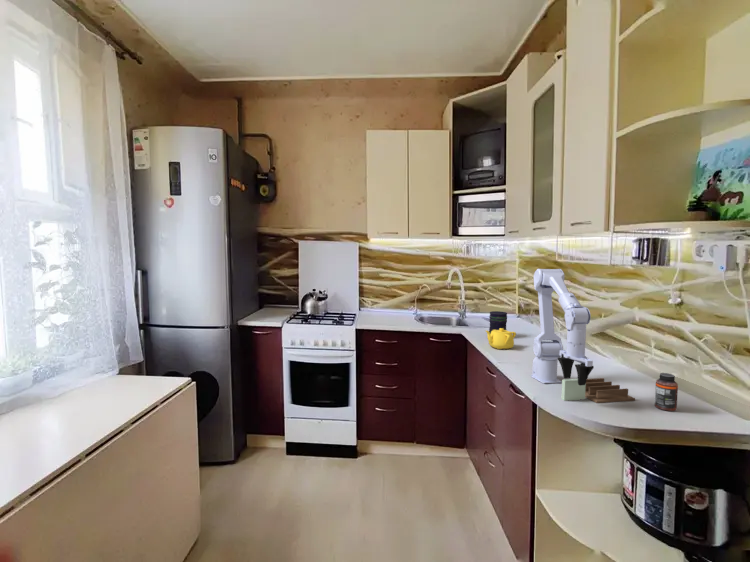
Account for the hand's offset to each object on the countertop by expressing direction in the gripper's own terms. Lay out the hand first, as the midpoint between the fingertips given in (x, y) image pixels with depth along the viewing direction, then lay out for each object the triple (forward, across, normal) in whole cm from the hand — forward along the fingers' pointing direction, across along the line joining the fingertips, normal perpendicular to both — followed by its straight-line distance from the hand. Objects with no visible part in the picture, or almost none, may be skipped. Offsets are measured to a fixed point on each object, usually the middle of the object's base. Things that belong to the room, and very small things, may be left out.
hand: (574, 381), depth 140 cm
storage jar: (+6, -94, +20) cm, 96 cm away
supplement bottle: (+7, +12, +25) cm, 28 cm away
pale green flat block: (+6, 0, 0) cm, 6 cm away
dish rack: (+6, -3, +13) cm, 15 cm away
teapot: (+6, -72, +10) cm, 73 cm away
